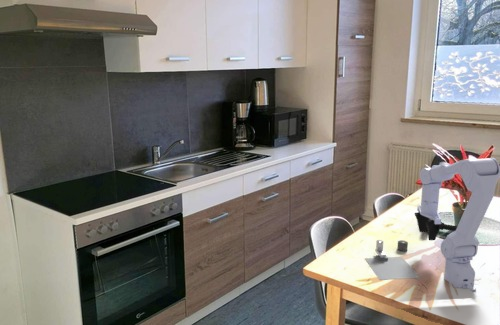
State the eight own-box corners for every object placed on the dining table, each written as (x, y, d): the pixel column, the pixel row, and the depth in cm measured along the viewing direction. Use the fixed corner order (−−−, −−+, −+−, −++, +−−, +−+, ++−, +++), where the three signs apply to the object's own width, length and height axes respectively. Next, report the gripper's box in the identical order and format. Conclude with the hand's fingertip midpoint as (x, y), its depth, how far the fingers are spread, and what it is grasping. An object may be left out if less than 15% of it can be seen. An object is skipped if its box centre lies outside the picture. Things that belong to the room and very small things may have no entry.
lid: (413, 261, 163) (413, 248, 162) (387, 257, 167) (388, 244, 165) (415, 251, 171) (416, 239, 169) (391, 247, 174) (392, 236, 173)
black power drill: (461, 217, 193) (425, 211, 201) (455, 227, 177) (416, 221, 184) (460, 229, 194) (424, 223, 201) (454, 240, 177) (415, 233, 185)
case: (420, 281, 147) (421, 274, 146) (379, 283, 146) (379, 276, 145) (401, 260, 162) (401, 254, 162) (364, 262, 162) (364, 255, 161)
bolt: (386, 257, 159) (387, 245, 158) (379, 257, 159) (380, 246, 158) (381, 250, 164) (381, 239, 163) (374, 251, 164) (375, 239, 163)
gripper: (450, 206, 151) (447, 243, 154) (431, 194, 165) (428, 227, 168) (430, 207, 150) (427, 244, 154) (413, 194, 165) (410, 228, 168)
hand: (427, 235), depth 161 cm, fingers open, 7 cm apart
